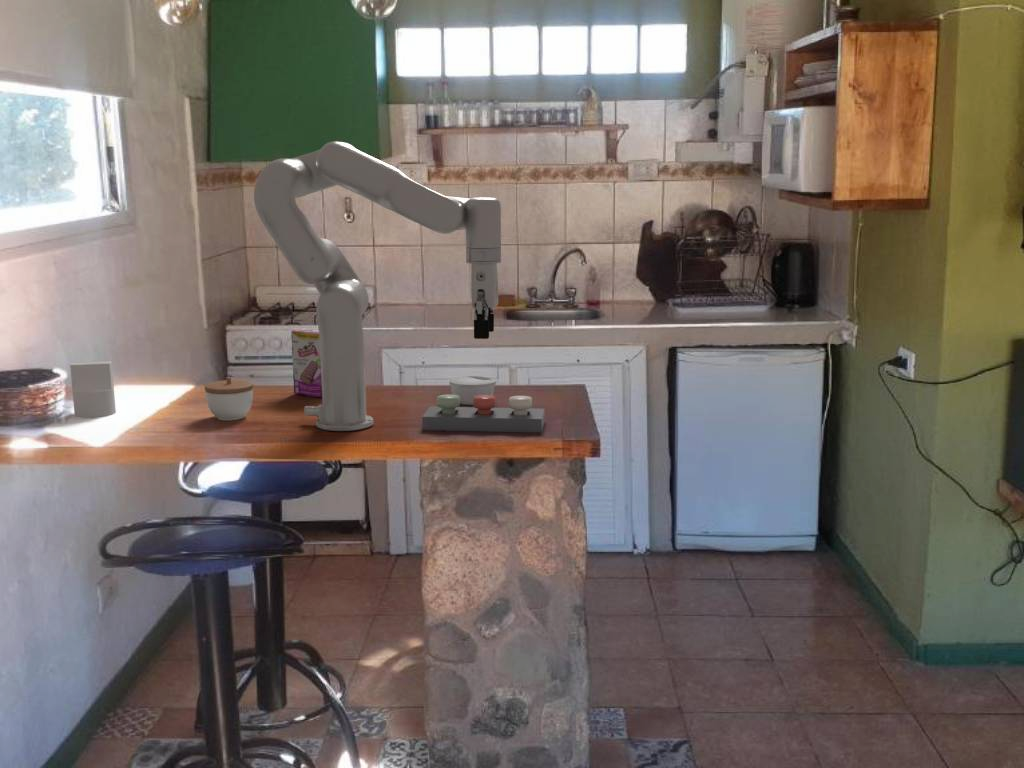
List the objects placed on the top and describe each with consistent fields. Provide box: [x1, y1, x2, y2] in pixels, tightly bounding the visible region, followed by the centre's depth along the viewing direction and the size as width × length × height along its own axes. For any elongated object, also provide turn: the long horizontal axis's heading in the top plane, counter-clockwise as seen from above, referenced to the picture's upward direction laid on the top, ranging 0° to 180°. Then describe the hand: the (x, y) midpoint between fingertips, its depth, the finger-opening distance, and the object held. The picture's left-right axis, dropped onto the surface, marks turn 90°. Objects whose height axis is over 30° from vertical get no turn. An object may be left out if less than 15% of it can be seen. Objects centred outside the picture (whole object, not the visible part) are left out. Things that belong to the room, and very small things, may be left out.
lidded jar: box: [204, 376, 254, 422], centre depth 244 cm, size 11×11×9 cm
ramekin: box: [449, 375, 497, 406], centre depth 261 cm, size 11×11×5 cm
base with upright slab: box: [69, 360, 117, 419], centre depth 248 cm, size 9×9×12 cm
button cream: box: [508, 395, 533, 416], centre depth 235 cm, size 5×5×5 cm
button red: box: [472, 395, 497, 415], centre depth 236 cm, size 5×5×5 cm
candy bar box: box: [290, 327, 322, 399], centre depth 267 cm, size 11×5×16 cm, turn 59°
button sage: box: [436, 394, 461, 414], centre depth 237 cm, size 5×5×5 cm
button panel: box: [421, 405, 546, 433], centre depth 236 cm, size 26×10×3 cm, turn 84°
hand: (484, 334), depth 233 cm, fingers open, 9 cm apart
